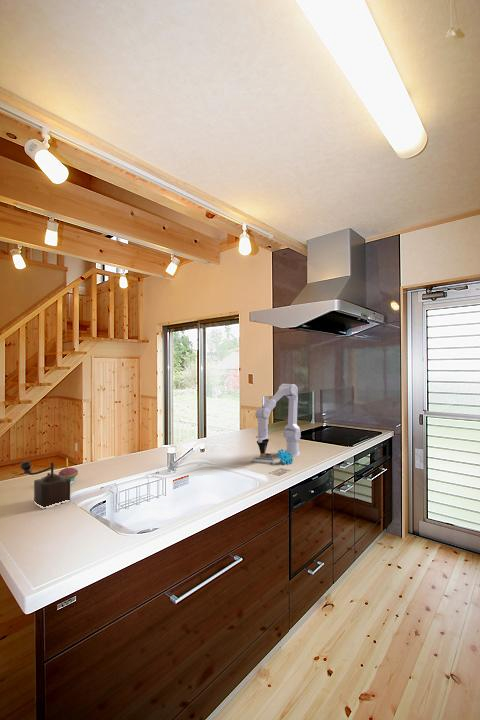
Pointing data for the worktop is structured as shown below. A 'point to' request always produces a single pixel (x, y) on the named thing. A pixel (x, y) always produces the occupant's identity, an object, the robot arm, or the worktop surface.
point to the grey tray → (263, 460)
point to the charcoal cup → (269, 455)
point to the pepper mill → (48, 486)
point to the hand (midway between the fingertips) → (263, 452)
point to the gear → (285, 456)
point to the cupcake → (69, 472)
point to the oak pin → (263, 454)
